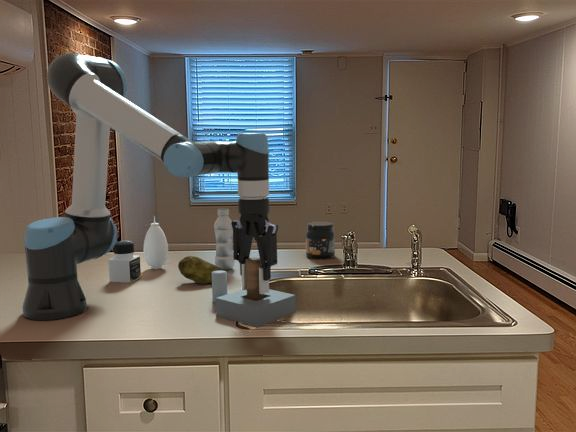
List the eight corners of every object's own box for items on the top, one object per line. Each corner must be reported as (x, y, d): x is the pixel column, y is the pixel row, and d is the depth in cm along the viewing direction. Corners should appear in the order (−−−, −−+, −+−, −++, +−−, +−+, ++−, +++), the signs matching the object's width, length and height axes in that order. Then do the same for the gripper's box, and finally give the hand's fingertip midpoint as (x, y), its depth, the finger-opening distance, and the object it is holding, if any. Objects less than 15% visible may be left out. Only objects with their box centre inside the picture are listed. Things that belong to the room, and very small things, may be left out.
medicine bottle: (130, 283, 176) (128, 244, 174) (109, 282, 177) (106, 243, 176) (141, 277, 183) (139, 239, 181) (120, 276, 184) (118, 239, 182)
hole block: (257, 327, 135) (257, 308, 135) (216, 315, 144) (215, 297, 144) (295, 312, 146) (295, 294, 145) (254, 302, 155) (254, 285, 154)
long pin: (256, 317, 142) (254, 261, 141) (244, 314, 145) (242, 259, 143) (267, 313, 145) (265, 258, 144) (255, 311, 148) (253, 256, 146)
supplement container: (299, 256, 210) (299, 223, 209) (320, 252, 217) (319, 220, 216) (320, 261, 203) (320, 227, 201) (341, 256, 210) (341, 223, 208)
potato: (215, 287, 170) (214, 260, 169) (175, 284, 174) (174, 258, 173) (226, 280, 178) (225, 254, 177) (187, 277, 182) (186, 252, 181)
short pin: (219, 304, 153) (218, 274, 152) (209, 301, 156) (208, 272, 155) (230, 301, 156) (229, 271, 155) (220, 298, 159) (219, 269, 158)
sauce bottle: (160, 272, 189) (158, 217, 186) (140, 270, 192) (137, 216, 189) (173, 267, 196) (170, 214, 194) (152, 265, 199) (150, 213, 196)
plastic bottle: (218, 272, 187) (216, 211, 185) (212, 268, 194) (210, 208, 191) (237, 270, 190) (236, 210, 187) (231, 266, 196) (229, 207, 193)
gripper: (292, 198, 138) (293, 293, 141) (237, 193, 149) (239, 281, 153) (271, 201, 132) (273, 300, 136) (216, 196, 144) (219, 288, 147)
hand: (255, 290), depth 144 cm, fingers open, 5 cm apart
